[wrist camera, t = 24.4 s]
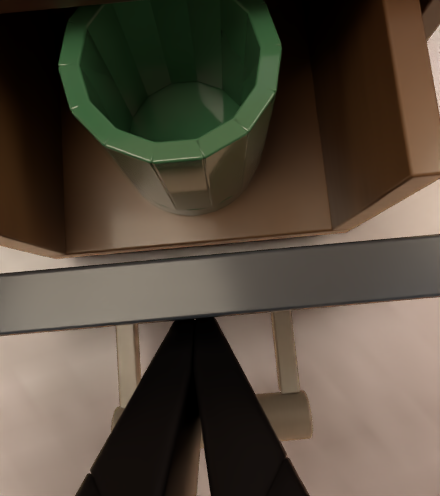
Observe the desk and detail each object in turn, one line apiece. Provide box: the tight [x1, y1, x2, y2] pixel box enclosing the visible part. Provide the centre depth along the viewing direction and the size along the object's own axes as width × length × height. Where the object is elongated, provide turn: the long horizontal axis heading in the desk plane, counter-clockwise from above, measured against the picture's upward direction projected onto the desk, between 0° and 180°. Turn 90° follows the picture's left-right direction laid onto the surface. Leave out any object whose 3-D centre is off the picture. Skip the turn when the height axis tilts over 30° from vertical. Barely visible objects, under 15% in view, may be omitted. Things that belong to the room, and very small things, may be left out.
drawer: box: [0, 0, 440, 448], centre depth 12 cm, size 16×12×7 cm
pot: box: [58, 0, 282, 216], centre depth 12 cm, size 5×5×6 cm
